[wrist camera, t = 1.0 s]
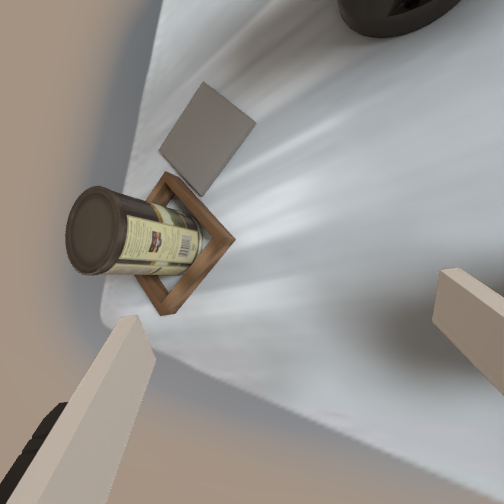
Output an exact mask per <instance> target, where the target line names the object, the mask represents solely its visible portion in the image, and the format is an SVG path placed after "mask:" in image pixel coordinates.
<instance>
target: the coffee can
mask: <svg viewBox="0 0 504 504" xmlns="http://www.w3.org/2000/svg"><path fill="white" fill-rule="evenodd" d="M65 237H66V238H65V239H66V249H67V254H68V258H69V260H70V262H71V264H72V266H73V267H74V268H75V269H76V271H78V272H79V273H81V274H83V275H98V274H126V275H174V276H178V275H183V274H185V273H186V271H187V270H188V269H189V268H190V266H191V265H192V264H193V263H194V261H195V260H196V259H197V257H198V256H199V255H200V253H201V250H202V232H201V229H200V226H199V224H198V222H197V221H196V219H195V218H194V217H193V216H191V215H190V214H188V213H186V212H180V211H177V210H174V209H170V208H167V207H163V206H160V205H157V204H153V203H150V202H146V201H143V200H140V199H137V198H134V197H131V196H127V195H124V194H120V193H117V192H114V191H111V190H109V189H107V188H105V187H101V186H94V187H91V188H89V189H87V190H85V191H84V192H83V193H82V194H81V195H80V196H79V197H78V198H77V200H76V201H75V203H74V205H73V207H72V209H71V211H70V214H69V217H68V221H67V225H66V235H65Z"/></svg>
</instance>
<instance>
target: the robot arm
mask: <svg viewBox="0 0 504 504" xmlns="http://www.w3.org/2000/svg"><path fill="white" fill-rule="evenodd" d="M460 1H461V0H338V4H339V9H340V13H341V15H342V18H343V19H344V21H345V22H346V24H347V25H348V26H349V27H350V28H351V29H353V30H354V31H356V32H358V33H360V34H362V35H366V36H370V37H392V36H397V35H401V34H405V33H408V32H411V31H414V30H416V29H419V28H421V27H423V26H425V25H427V24H429V23H431V22H433V21H434V20H436V19H438V18H439V17H441V16H442V15H444V14H445V13H446V12H448V11H449V10H450V9H452V8H453V7H454V6H455V5H456V4H458V3H459V2H460ZM432 322H433V323H434V324H435V325H436V326H437V327H438V328H439V329H440V330H441V331H442V332H443V333H444V335H445V336H446V337H447V338H448V339H449V340H450V341H451V342H452V343H453V344H454V345H455V346H456V347H457V348H458V349H459V350H460V351H461V352H462V353H463V354H464V355H465V356H466V357H467V358H468V359H469V360H470V361H471V363H472V364H473V365H474V366H475V367H476V368H477V369H478V370H479V371H480V372H481V373H482V374H483V375H484V376H485V377H486V378H487V379H488V380H489V381H490V382H491V383H492V384H493V385H494V386H495V387H496V388H497V390H498V391H499V392H500V393H501V394H502V395H503V396H504V297H502V296H501V295H499V294H498V293H496V292H495V291H493V290H492V289H490V288H489V287H487V286H486V285H484V284H483V283H481V282H480V281H478V280H477V279H475V278H474V277H472V276H471V275H469V274H468V273H466V272H465V271H463V270H462V269H460V268H459V267H458V268H451V269H444V270H440V274H439V280H438V286H437V292H436V298H435V304H434V310H433V317H432ZM155 363H156V358H155V356H154V353H153V351H152V348H151V346H150V344H149V341H148V339H147V336H146V334H145V331H144V329H143V327H142V324H141V322H140V319H139V317H138V315H134V316H127V317H121V318H120V319H119V321H118V323H117V324H116V326H115V327H114V329H113V331H112V332H111V334H110V336H109V337H108V339H107V340H106V342H105V344H104V346H103V347H102V349H101V350H100V352H99V353H98V355H97V357H96V358H95V360H94V362H93V363H92V365H91V367H90V368H89V370H88V371H87V373H86V375H85V376H84V378H83V380H82V381H81V383H80V384H79V386H78V388H77V389H76V391H75V392H74V394H73V396H72V397H71V399H70V401H69V402H64V403H59V404H58V405H57V406H56V407H55V408H54V409H53V410H52V411H51V412H50V413H49V414H48V415H47V416H46V417H45V418H44V419H43V420H42V422H41V423H40V425H39V426H38V428H37V429H36V431H35V432H34V434H33V435H32V439H31V440H29V441H28V443H27V445H26V446H25V447H24V449H23V450H22V454H21V455H19V456H18V458H17V459H16V461H15V462H14V464H13V466H12V467H11V468H10V470H9V471H8V473H7V474H6V476H5V478H4V479H3V481H2V482H1V484H0V504H106V502H107V499H108V496H109V493H110V491H111V488H112V485H113V482H114V479H115V476H116V474H117V471H118V468H119V465H120V462H121V459H122V456H123V454H124V451H125V448H126V445H127V442H128V440H129V437H130V434H131V431H132V428H133V425H134V423H135V420H136V417H137V414H138V411H139V408H140V406H141V402H142V400H143V397H144V394H145V391H146V389H147V386H148V383H149V380H150V377H151V375H152V371H153V369H154V366H155Z"/></svg>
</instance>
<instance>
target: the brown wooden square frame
mask: <svg viewBox="0 0 504 504" xmlns="http://www.w3.org/2000/svg"><path fill="white" fill-rule="evenodd" d="M174 194H176V195H177V196H178V198H179V199H180V200H181V201H182V202H183V203H184V204H185V206H186V207H187V208H188V209H189V210H190V211H191V213H192V214H193V215H194V216H195V217H196V218H197V219H198V221H199V222H200V223H201V224H202V225H203V226H204V228H205V229H206V230H207V231H208V232H209V233H210V235H211V236H212V237H213V238H212V240H211V241H210V242H209V243H208V245H207V246H206V247H205V249H204V250H203V251H202V252H201V254H200V255H199V256H198V257H197V259H196V260H195V261H194V263H193V264H192V265H191V266H190V268H189V269H188V270H187V271H186V273H185V274H184V275H183V276H182V278H181V279H180V280H179V282H178V283H177V284H176V285H175V287H174V288H173V289H172V290H171V292H170V293H169V292H168V291H167V289H166V288H165V287H164V285H163V284H162V282H161V281H160V279H159V278H158V276H157V275H135V277H136V278H137V280H138V282H139V283H140V285H141V286H142V288H143V289H144V291H145V293H146V294H147V296H148V297H149V299H150V300H151V302H152V304H153V305H154V307H155V308H156V310H157V311H158V313H159V315H160V316H163V315H170V314H175V313H176V312H177V311H178V310H179V308H180V307H181V306H182V305H183V303H184V302H185V301H186V300H187V299H188V297H189V296H190V295H191V294H192V292H193V291H194V290H195V289H196V288H197V286H198V285H199V284H200V283H201V281H202V280H203V279H204V278H205V277H206V275H207V274H208V273H209V272H210V270H211V269H212V268H213V267H214V266H215V264H216V263H217V262H218V261H219V259H220V258H221V257H222V256H223V255H224V253H225V252H226V251H227V250H228V248H229V247H230V246H231V245H232V244H233V242H234V241H235V240H236V239H235V238H234V237H233V236H232V235H231V234H230V233H229V232H228V231H227V229H226V228H225V227H224V226H223V225H222V224H221V223H220V222H219V221H218V220H217V218H216V217H215V216H214V215H213V214H212V213H211V212H210V211H209V210H208V209H207V207H206V206H205V205H204V204H203V203H202V202H201V201H200V200H199V199H198V198H197V197H196V195H195V194H194V193H193V192H192V191H191V190H190V189H189V188H188V187H187V186H186V184H185V183H184V182H183V181H182V180H181V179H180V178H179V177H177V176H175V175H173V174H170V173H168V172H166V171H165V172H164V174H163V175H162V177H161V178H160V180H159V181H158V183H157V184H156V186H155V187H154V189H153V190H152V192H151V193H150V195H149V196H148V198H147V199H146V202H150V203H153V204H157V205H160V206H163V207H166V205H167V204H168V203H169V201H170V200H171V198H172V197H173V195H174Z"/></svg>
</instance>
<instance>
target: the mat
mask: <svg viewBox="0 0 504 504" xmlns="http://www.w3.org/2000/svg"><path fill="white" fill-rule="evenodd" d="M255 125H256V122H255V121H254V120H252V119H251V118H250V117H249V116H247V115H246V114H245V113H243V112H242V111H241V110H240V109H238V108H237V107H236V106H234V105H233V104H232V103H230V102H229V101H228V100H227V99H225V98H224V97H223V96H221V95H220V94H219V93H218V92H216V91H215V90H214V89H212V88H211V87H210V86H209V85H207V84H206V83H205V82H202V84H201V85H200V87H199V88H198V90H197V91H196V93H195V94H194V96H193V98H192V99H191V101H190V102H189V104H188V105H187V107H186V108H185V110H184V111H183V113H182V115H181V116H180V118H179V119H178V121H177V122H176V124H175V125H174V127H173V129H172V130H171V132H170V133H169V135H168V136H167V138H166V139H165V141H164V142H163V144H162V146H161V147H160V149H159V151H160V152H161V153H162V154H163V155H164V156H165V157H166V158H167V159H168V161H169V162H170V163H171V164H172V165H173V166H174V167H175V168H176V169H177V170H178V171H179V172H180V174H181V175H182V176H183V177H184V178H185V179H186V180H187V181H188V182H189V183H190V184H191V185H192V187H193V188H194V189H195V190H196V191H197V192H198V193H199V194H200V195H201V196H204V194H205V193H206V191H207V190H208V189H209V187H210V186H211V185H212V183H213V182H214V181H215V179H216V178H217V176H218V175H219V174H220V172H221V171H222V170H223V168H224V167H225V166H226V164H227V163H228V162H229V160H230V159H231V157H232V156H233V155H234V153H235V152H236V151H237V149H238V148H239V147H240V145H241V144H242V142H243V141H244V140H245V138H246V137H247V136H248V134H249V133H250V132H251V130H252V129H253V128H254V126H255Z"/></svg>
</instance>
